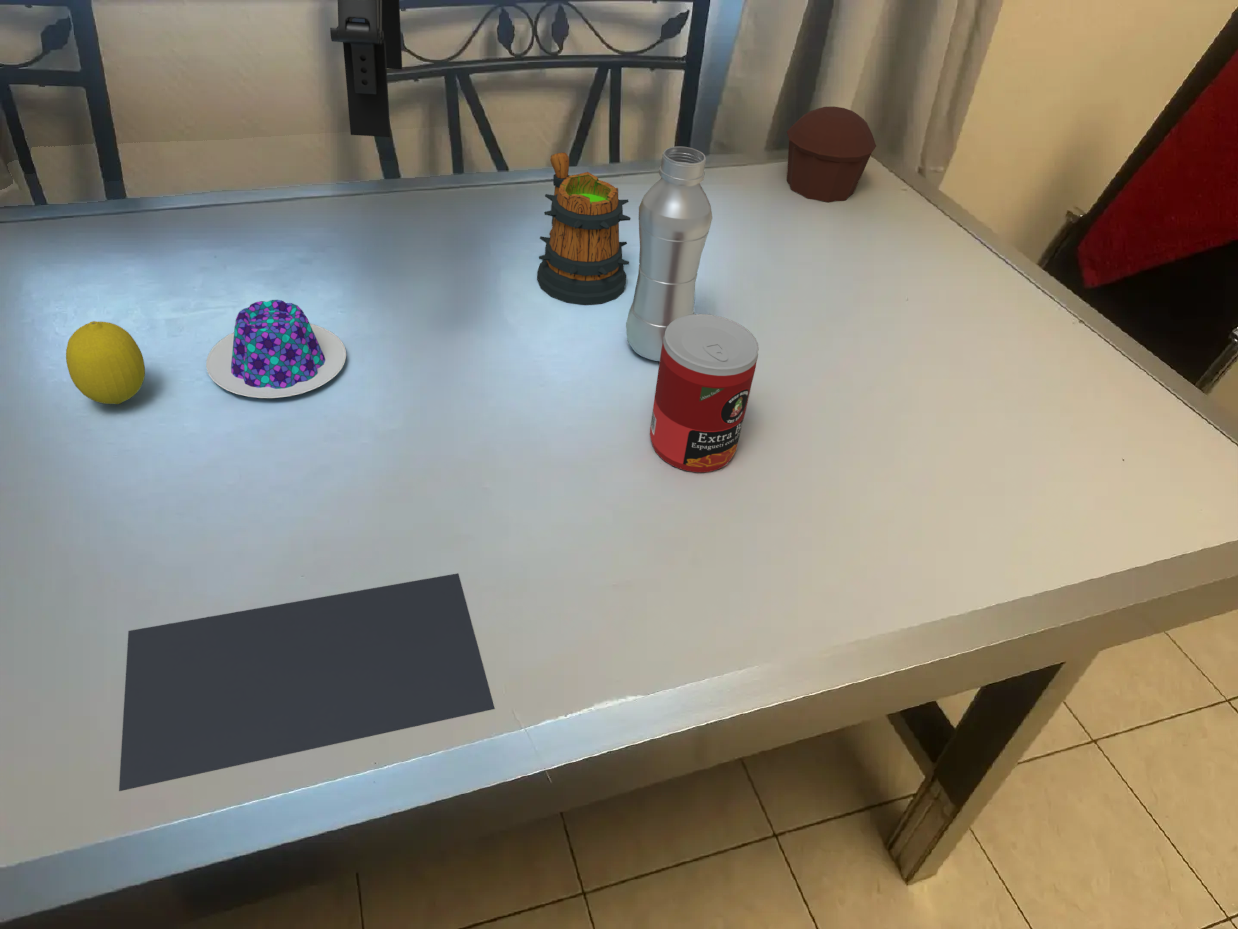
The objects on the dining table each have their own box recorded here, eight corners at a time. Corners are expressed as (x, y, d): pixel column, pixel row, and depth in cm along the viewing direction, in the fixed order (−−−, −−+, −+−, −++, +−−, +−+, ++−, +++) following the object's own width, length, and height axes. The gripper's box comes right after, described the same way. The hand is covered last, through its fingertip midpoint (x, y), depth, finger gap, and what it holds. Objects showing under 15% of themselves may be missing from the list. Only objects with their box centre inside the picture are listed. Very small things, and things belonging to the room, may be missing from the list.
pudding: (346, 401, 83) (340, 351, 80) (200, 408, 81) (187, 357, 77) (347, 325, 92) (342, 277, 89) (215, 329, 90) (204, 280, 86)
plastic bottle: (680, 377, 91) (713, 178, 78) (613, 358, 92) (635, 160, 79) (698, 342, 96) (732, 150, 82) (634, 325, 97) (658, 133, 84)
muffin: (817, 162, 132) (834, 89, 126) (880, 193, 127) (901, 119, 120) (758, 180, 126) (773, 104, 120) (822, 214, 120) (841, 137, 114)
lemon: (78, 426, 78) (49, 345, 72) (86, 386, 82) (59, 306, 76) (152, 419, 79) (128, 339, 74) (156, 380, 83) (134, 301, 78)
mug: (645, 296, 101) (658, 194, 94) (558, 313, 97) (564, 208, 90) (591, 239, 110) (599, 142, 102) (509, 253, 105) (510, 152, 98)
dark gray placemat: (119, 791, 55) (118, 791, 55) (128, 631, 63) (128, 630, 63) (494, 709, 61) (494, 708, 61) (458, 574, 70) (458, 573, 70)
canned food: (691, 487, 79) (711, 380, 72) (629, 435, 83) (643, 329, 76) (755, 454, 83) (780, 349, 76) (693, 406, 88) (711, 303, 80)
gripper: (406, -208, 51) (419, 170, 65) (427, -256, 69) (434, 46, 83) (259, -224, 50) (305, 164, 64) (320, -269, 68) (345, 40, 82)
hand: (378, 98), depth 73 cm, fingers open, 13 cm apart
